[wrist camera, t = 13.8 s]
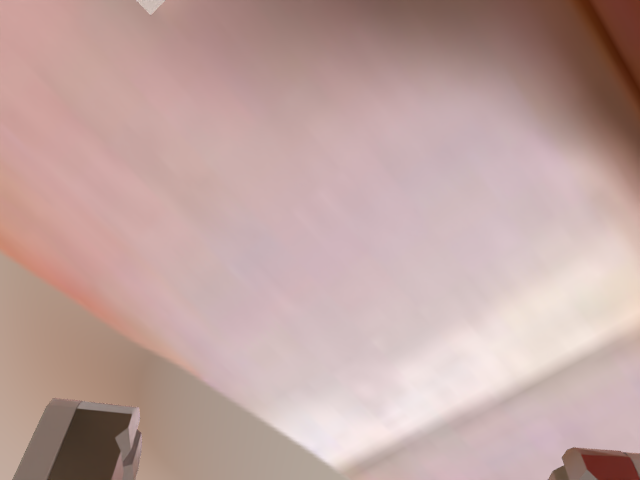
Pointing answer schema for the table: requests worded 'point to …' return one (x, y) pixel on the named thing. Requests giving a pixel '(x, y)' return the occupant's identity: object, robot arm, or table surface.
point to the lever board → (150, 5)
